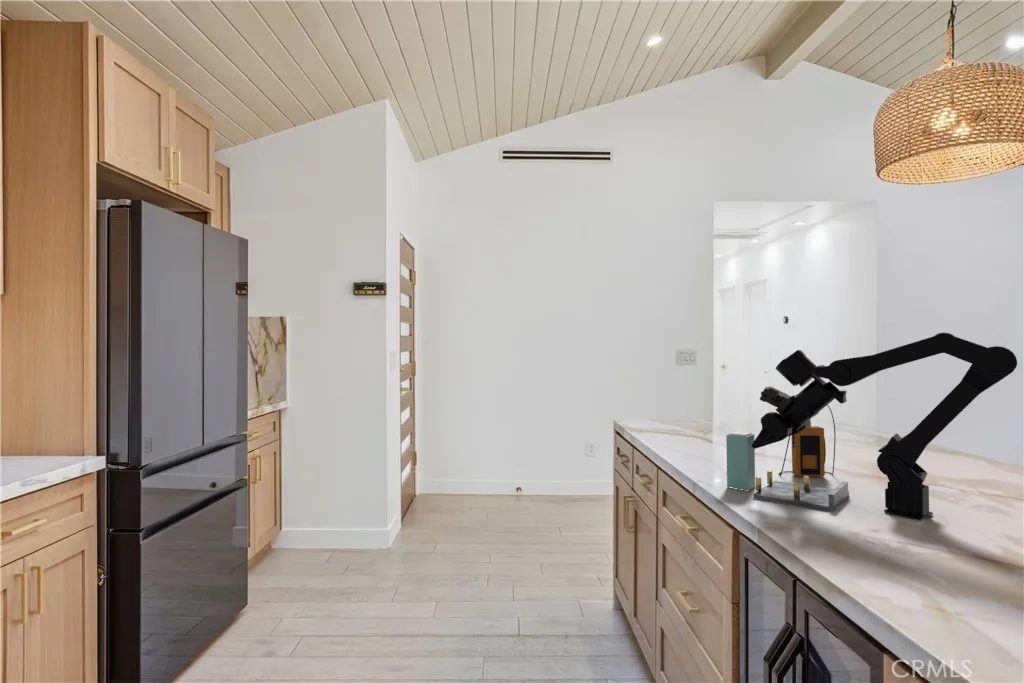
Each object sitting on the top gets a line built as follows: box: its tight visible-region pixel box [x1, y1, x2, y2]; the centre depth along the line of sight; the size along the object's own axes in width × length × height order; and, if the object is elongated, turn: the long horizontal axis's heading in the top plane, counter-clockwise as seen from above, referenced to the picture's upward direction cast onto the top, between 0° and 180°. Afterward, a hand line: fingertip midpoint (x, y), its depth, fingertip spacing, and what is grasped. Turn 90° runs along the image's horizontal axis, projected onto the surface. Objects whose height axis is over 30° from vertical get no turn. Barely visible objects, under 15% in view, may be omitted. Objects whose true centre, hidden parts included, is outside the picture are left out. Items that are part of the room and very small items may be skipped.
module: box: [725, 430, 756, 491], centre depth 135 cm, size 5×5×13 cm
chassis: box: [753, 470, 850, 513], centre depth 127 cm, size 17×16×4 cm
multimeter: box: [778, 404, 837, 478], centre depth 150 cm, size 15×10×20 cm
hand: (759, 444), depth 132 cm, fingers open, 9 cm apart
